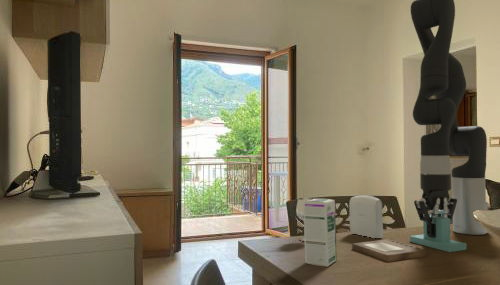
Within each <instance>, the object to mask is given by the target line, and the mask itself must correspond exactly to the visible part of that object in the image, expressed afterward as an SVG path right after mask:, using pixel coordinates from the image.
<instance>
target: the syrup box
mask: <svg viewBox="0 0 500 285" xmlns="http://www.w3.org/2000/svg"><path fill="white" fill-rule="evenodd" d="M303 204H304V220H303V232H304V233H303V236H304V237H303V238H304V241H305V242H304V263H305V264H309V265H313V266H318V267H319V266H320V267H329V266H330V265H332V264H334V262H337V260H338V259H337V254H338V253H337V226H336V225H337V224H336V201H335V199H331V198H313V199H312V200H309V201H304V202H303Z"/></svg>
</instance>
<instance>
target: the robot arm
mask: <svg viewBox="0 0 500 285" xmlns="http://www.w3.org/2000/svg"><path fill="white" fill-rule="evenodd" d="M455 4H456V3H455V0H413V1H412V2H411V5H410V16H411V20H412V23H413V26H414V30H415V32H416V35H417V38H418V41H419V42H420V43H419V44H420V46H421V49H422V52H423V57H422V61H421V64H420V75H419V76H420V84H419V90H418V94H417V97H416V101H415V103H414V107H413V109H412V117H413V120H414V122H415V123H416V124H417V125H419V126H436V125H438V126H439V125H440V128H439V129H438V130H437V131H434V132H432V133H425V134H424V135H422V136H421V137H420V162H419V172H420V173H419V174H420V178H419V179H420V180H419V183H420V184H419V186H420V189H421V190H422V195H421V198H420V199H419V200H418V199H416V200H414V201H413V203H414V206H415V210H416V211H417V215H418V218H419V220H420V222H421V221H422V222H423V221H425V222H426V224H427V235H428V237H431V238H435V237H436V224H435V221H436V216H439V217H445V218H450V221H452V231H453V232H454V233H457V234H463V235H471V236H473V235H476V236H478V235H479V236H480V235H486V234H487V233H489V230H488V231H487V230H486V229H485V228H483V227H482V225H481V224H480V223H478V222H477V221H476V220H475V218H474V216H473V212H474V211H476V210H488V211H489V207H488V206H489V205H488V204H489V202H488V201H487V200H486V199H487V195H486V189H487V188H486V171H487V170H486V169H487V151H488V150H487V148H488V146H487V145H488V144H487V143H488V142H487V141H488V139H487V134H486V131H485V129H484V128H483V127H482V126H479V125H473V126H472V125H469V126H460V125H459V123H458V118H457V117H458V115H457V114H458V110H459V107H460V104H461V103H462V100H463V97H464V95H465V93H466V89H467V80H466V77H465V72H464V69H463V66H462V63H461V62H460V61H459V59H457V58H456V57H455V56H454V55H453V54H452V53H450V49H451V43H452V37H453V30H454V25H455V18H456V5H455ZM436 27H438V28H437V31H436V34H435V35H434V33H433V30H432V28H436ZM433 96H434V97H435V98H431V97H433ZM450 155H451V156H454V157H455V156H456V157H457V156H458V157H459V156H460V157H461V156H462V157H465V156H467V157H468V160H467V161H466V162H465V163H463V164H461V165H458V166H455V167H453V168H452V167H451V166H452V164H451V158H450V157H451V156H450ZM449 191H451V194H452V195H451V196H452V197H451V196H450V194H449ZM430 215H431V218H430Z"/></svg>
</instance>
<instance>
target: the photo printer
mask: <svg viewBox="0 0 500 285" xmlns="http://www.w3.org/2000/svg"><path fill="white" fill-rule="evenodd" d="M348 205H349V206H348V207H349V232H350V233H354V234H358V235H362V236H361V237H363V236H367V237H366V238H369V237H371V238H370V239H375V238H381V239H383V237H384V227H383V226H384V225H383V224H384V222H383V221H384V220H383V203H382V200H381V199H379V198H377V197H375V196H372V195H367V194H365V195H364V194H363V195H356V196H352V197H351V198H350V200H349V204H348Z"/></svg>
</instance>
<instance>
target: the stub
mask: <svg viewBox="0 0 500 285" xmlns="http://www.w3.org/2000/svg"><path fill="white" fill-rule="evenodd" d="M430 218H431V214H430ZM422 222H423V233H422V234H415V235H410V236H409V242H410V243H412V244H413V243H414V244H417V245H422V246H426V247H427V248H428V247H429V248H432V249H437V250H439V251H444V252H448V253H453V252H460V251H467V243H466V242H461V241H457V240H453V239H451V220H450V218H445V217H439V216H437V215H436V221H435V224H436V237H435V238H431V237H428V235H427V224H426V222H425V221H422Z"/></svg>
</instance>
